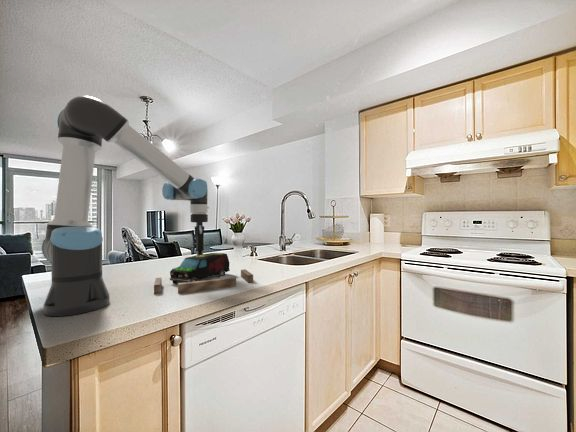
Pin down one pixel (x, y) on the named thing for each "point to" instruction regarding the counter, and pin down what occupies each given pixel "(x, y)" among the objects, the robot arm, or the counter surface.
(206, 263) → the toy van
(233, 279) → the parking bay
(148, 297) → the counter surface
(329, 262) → the counter surface
